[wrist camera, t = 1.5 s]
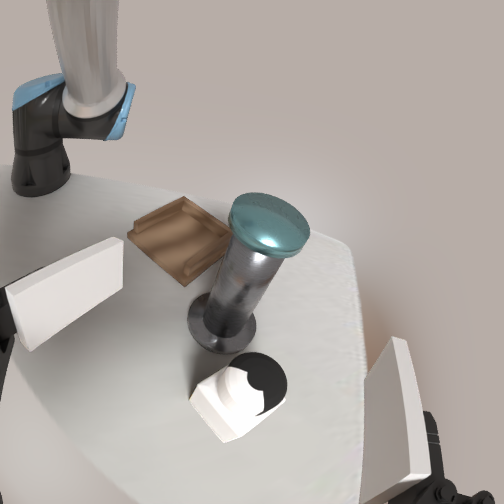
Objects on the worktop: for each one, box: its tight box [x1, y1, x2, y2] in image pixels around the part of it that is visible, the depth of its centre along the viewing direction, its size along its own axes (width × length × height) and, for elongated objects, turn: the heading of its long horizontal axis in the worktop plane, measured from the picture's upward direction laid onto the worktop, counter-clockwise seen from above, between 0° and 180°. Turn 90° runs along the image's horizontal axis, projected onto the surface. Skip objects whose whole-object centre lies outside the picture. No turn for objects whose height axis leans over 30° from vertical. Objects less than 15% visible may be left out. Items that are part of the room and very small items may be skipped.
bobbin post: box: [188, 193, 310, 354], centre depth 33 cm, size 10×10×20 cm
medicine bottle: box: [189, 352, 287, 443], centre depth 27 cm, size 7×7×12 cm
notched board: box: [127, 196, 233, 287], centre depth 48 cm, size 14×14×4 cm
